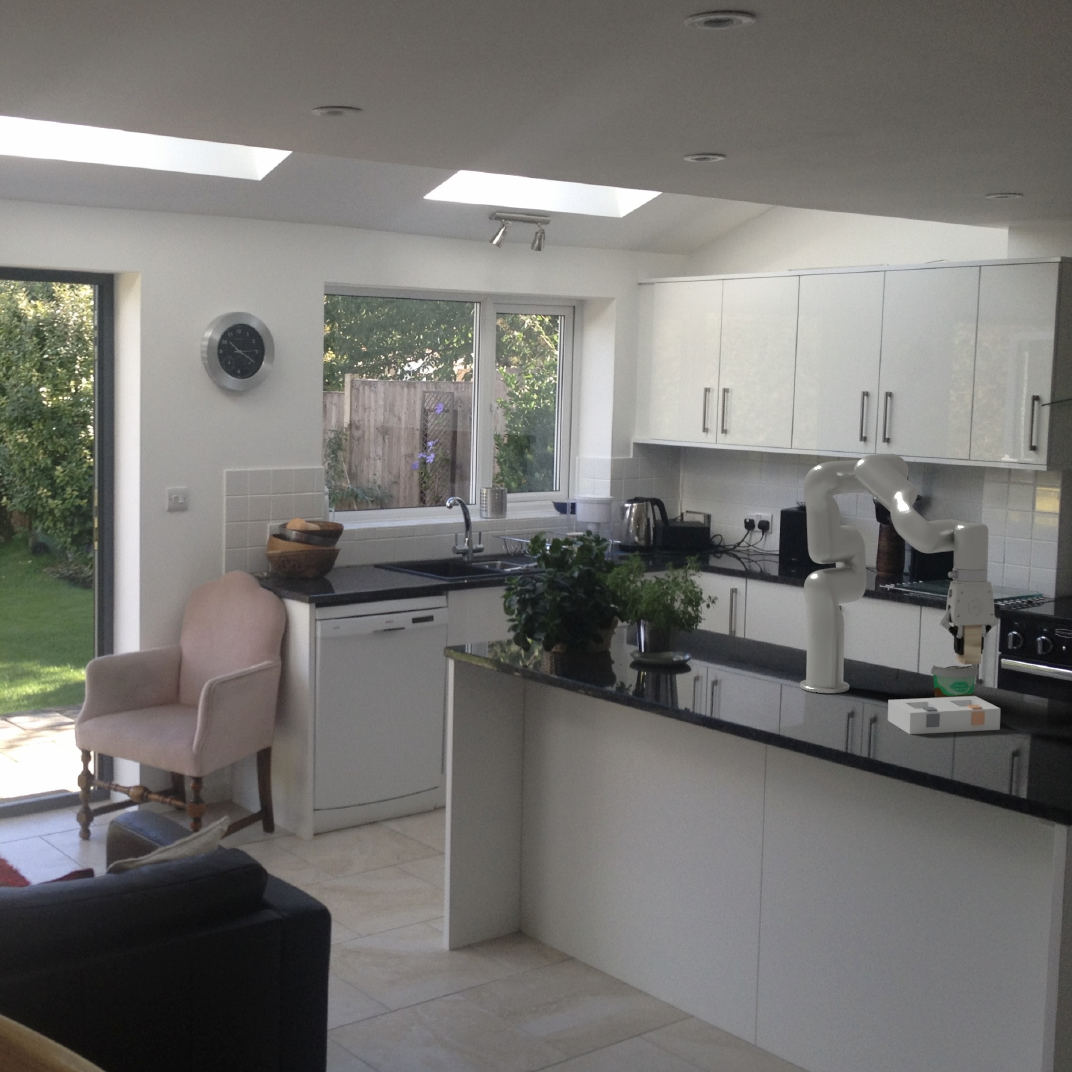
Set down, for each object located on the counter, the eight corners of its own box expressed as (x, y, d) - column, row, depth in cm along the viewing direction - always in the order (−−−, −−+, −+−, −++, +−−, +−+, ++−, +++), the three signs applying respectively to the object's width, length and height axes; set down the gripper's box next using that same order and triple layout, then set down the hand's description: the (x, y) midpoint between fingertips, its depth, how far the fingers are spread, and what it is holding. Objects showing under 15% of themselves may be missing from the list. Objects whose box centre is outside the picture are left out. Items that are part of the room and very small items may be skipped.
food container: (944, 710, 312) (945, 670, 310) (929, 704, 318) (931, 665, 316) (987, 706, 315) (989, 667, 314) (973, 701, 321) (974, 662, 320)
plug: (956, 661, 299) (957, 619, 298) (972, 660, 300) (973, 618, 299) (964, 664, 295) (965, 622, 294) (981, 663, 296) (982, 621, 295)
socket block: (887, 720, 303) (888, 698, 302) (974, 716, 306) (975, 694, 306) (910, 734, 291) (910, 711, 290) (1000, 730, 294) (1001, 707, 294)
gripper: (943, 579, 290) (942, 658, 292) (1012, 576, 293) (1010, 655, 295) (928, 575, 298) (927, 652, 300) (995, 572, 300) (994, 648, 302)
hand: (968, 652), depth 297 cm, fingers closed on plug, 4 cm apart
